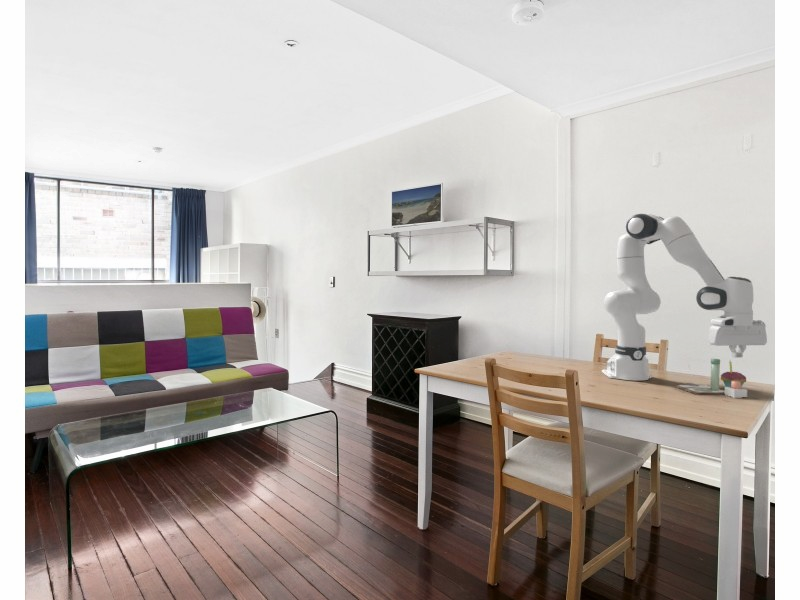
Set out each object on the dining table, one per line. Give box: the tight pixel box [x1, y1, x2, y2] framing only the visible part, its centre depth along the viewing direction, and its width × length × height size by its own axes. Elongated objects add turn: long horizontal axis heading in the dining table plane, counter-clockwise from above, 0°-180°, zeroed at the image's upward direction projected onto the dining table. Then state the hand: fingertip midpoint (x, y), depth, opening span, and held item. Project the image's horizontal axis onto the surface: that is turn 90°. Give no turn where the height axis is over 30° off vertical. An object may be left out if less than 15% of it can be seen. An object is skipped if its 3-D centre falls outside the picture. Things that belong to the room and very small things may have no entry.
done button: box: [731, 381, 742, 389], centre depth 183 cm, size 3×3×4 cm
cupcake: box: [720, 360, 747, 388], centre depth 194 cm, size 9×8×12 cm
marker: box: [710, 358, 721, 391], centre depth 189 cm, size 3×3×12 cm
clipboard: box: [674, 382, 725, 395], centre depth 193 cm, size 15×14×1 cm
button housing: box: [723, 386, 748, 399], centre depth 183 cm, size 5×5×3 cm
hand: (737, 357), depth 182 cm, fingers closed
